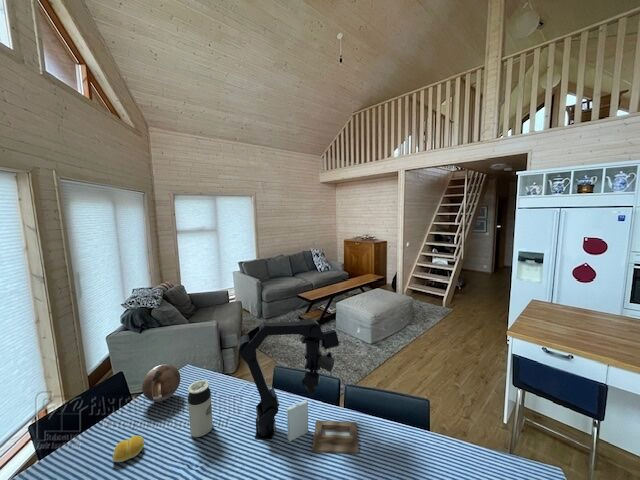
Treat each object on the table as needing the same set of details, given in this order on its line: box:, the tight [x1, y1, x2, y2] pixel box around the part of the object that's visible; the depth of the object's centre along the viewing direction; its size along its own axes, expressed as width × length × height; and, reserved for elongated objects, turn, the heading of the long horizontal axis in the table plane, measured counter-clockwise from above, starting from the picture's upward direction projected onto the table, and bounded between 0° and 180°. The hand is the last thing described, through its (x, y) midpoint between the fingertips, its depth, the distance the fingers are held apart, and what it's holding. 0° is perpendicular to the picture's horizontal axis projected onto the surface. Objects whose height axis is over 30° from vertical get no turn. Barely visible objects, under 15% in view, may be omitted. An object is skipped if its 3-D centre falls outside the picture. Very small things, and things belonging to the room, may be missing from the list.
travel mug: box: [187, 379, 214, 438], centre depth 101 cm, size 8×8×18 cm
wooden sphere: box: [141, 363, 181, 403], centre depth 120 cm, size 15×15×15 cm
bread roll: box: [112, 435, 145, 463], centre depth 92 cm, size 8×9×4 cm
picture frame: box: [311, 419, 359, 455], centre depth 97 cm, size 16×13×3 cm
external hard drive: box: [286, 399, 309, 442], centre depth 98 cm, size 2×8×12 cm, turn 121°
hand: (313, 387), depth 106 cm, fingers open, 9 cm apart
